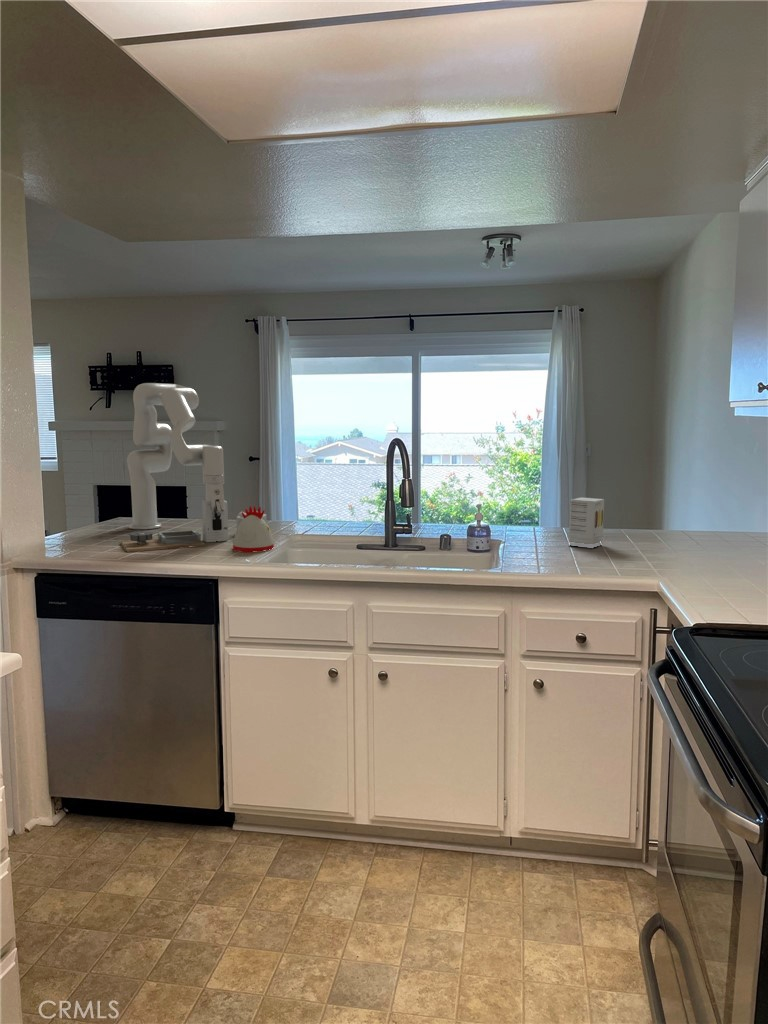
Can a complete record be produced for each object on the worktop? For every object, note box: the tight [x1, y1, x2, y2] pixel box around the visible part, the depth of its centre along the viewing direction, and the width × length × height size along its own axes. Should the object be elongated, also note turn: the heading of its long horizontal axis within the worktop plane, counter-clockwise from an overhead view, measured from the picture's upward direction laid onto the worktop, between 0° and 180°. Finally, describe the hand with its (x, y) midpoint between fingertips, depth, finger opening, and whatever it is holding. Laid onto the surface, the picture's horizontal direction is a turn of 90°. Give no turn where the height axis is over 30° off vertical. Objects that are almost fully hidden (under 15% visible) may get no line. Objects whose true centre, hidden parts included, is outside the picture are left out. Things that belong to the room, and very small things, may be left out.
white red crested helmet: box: [232, 505, 275, 553], centre depth 248 cm, size 14×14×15 cm
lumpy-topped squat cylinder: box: [235, 510, 268, 529], centre depth 277 cm, size 10×13×9 cm
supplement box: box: [568, 497, 605, 544], centre depth 254 cm, size 10×9×17 cm
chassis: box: [120, 530, 205, 553], centre depth 255 cm, size 18×26×4 cm
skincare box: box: [201, 500, 229, 543], centre depth 263 cm, size 8×6×15 cm
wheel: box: [129, 531, 153, 541], centre depth 252 cm, size 7×7×2 cm
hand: (215, 528), depth 263 cm, fingers closed on skincare box, 6 cm apart
